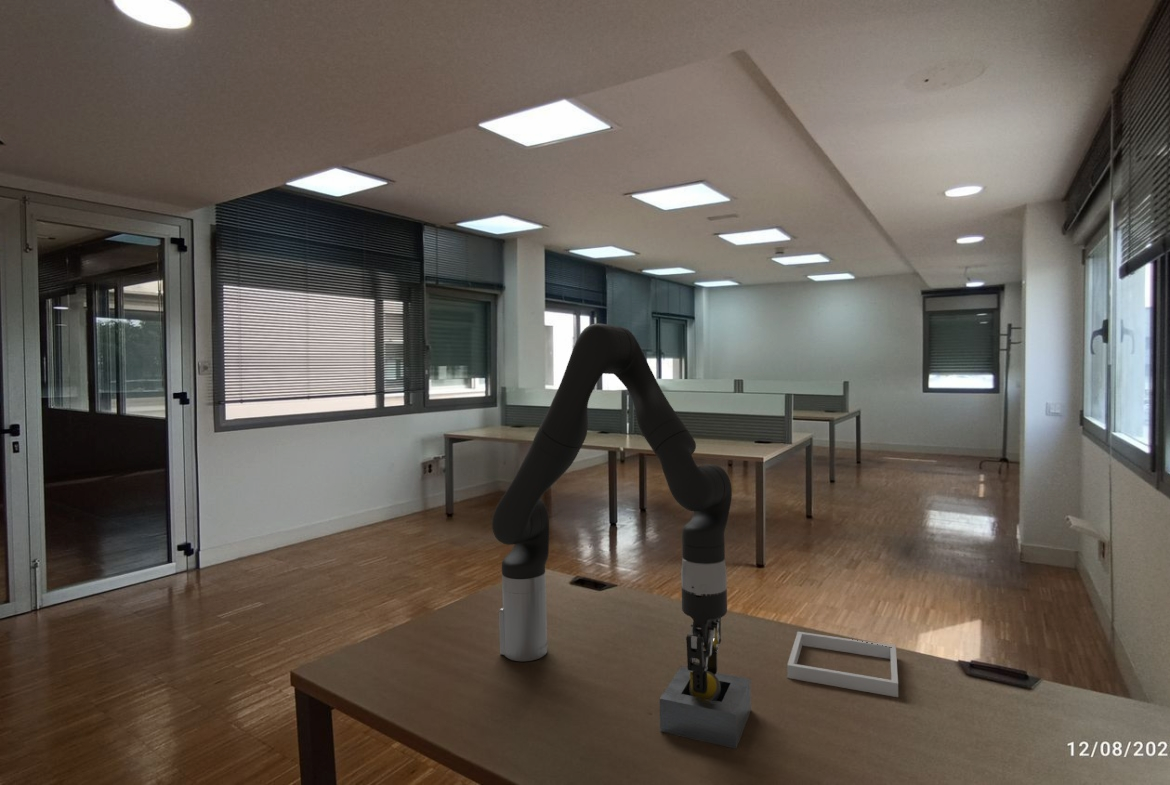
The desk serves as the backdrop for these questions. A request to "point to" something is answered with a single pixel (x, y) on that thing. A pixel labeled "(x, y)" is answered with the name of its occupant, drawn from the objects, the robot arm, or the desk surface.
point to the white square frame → (843, 678)
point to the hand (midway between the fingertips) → (705, 681)
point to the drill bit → (712, 687)
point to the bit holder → (706, 710)
